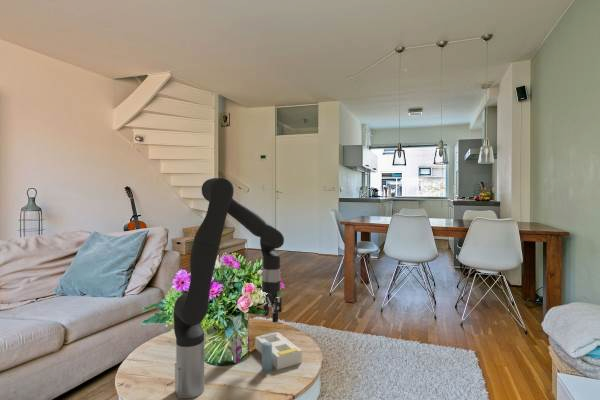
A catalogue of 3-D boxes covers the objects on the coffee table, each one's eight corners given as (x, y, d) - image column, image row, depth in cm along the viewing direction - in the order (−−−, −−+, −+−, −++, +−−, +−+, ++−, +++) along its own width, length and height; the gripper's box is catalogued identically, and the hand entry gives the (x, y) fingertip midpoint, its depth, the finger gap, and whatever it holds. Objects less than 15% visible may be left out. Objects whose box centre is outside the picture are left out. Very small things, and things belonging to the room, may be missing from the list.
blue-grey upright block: (264, 373, 128) (264, 347, 128) (260, 368, 132) (260, 343, 132) (273, 370, 130) (273, 344, 130) (269, 366, 134) (269, 341, 134)
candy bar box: (239, 350, 148) (239, 313, 148) (249, 352, 146) (249, 314, 146) (225, 362, 137) (225, 321, 137) (236, 364, 136) (236, 323, 136)
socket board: (277, 369, 131) (277, 356, 131) (255, 348, 150) (255, 336, 150) (301, 362, 137) (301, 349, 137) (277, 342, 156) (277, 331, 156)
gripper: (255, 276, 142) (255, 315, 142) (270, 283, 130) (270, 325, 130) (271, 275, 146) (270, 312, 146) (287, 281, 134) (286, 322, 134)
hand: (270, 318), depth 138 cm, fingers open, 8 cm apart
